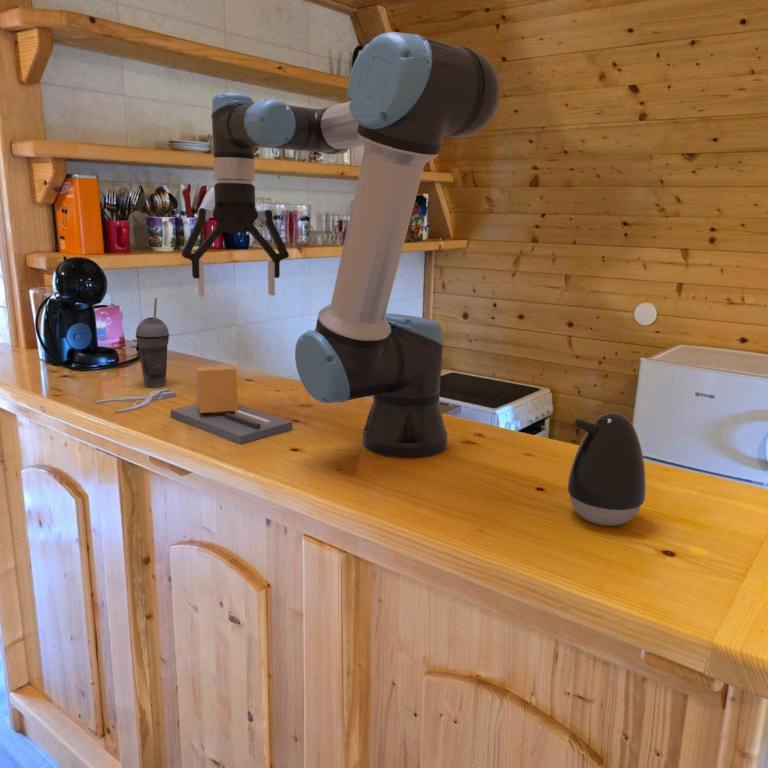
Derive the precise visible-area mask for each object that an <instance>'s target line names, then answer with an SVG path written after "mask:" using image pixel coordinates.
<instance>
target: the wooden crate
mask: <svg viewBox="0 0 768 768" xmlns="http://www.w3.org/2000/svg"><path fill="white" fill-rule="evenodd" d="M195 377H196V397H197V398H196V401H197V403H196V404H198V409H199V412H200V413H208V412H224V411H238V404H239V403H238V383H237V381H238V380H237V379H238V377H237V369H236V368H235V367H234V366H233V365H226V366H225V365H224V366H201V367H200V366H197V367H196V366H195Z"/></svg>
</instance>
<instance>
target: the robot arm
mask: <svg viewBox="0 0 768 768" xmlns="http://www.w3.org/2000/svg"><path fill="white" fill-rule="evenodd" d="M347 83H348V84H347V100H348V101H346V102H343V103H338V104H334V105H332V106H328V107H327V106H326V107H322V108H311V107H310V108H309V107H303V106H297V105H289V104H286V103H284V102H283V101H281V100H279V99H267V98H264V99H263V98H262V99H260V100H257V101H254V100H253V98H252V96H250V95H247V94H243V93H239V92H238V93H235V92H225V93H223V92H221V93H217V94H215V95H214V96H213V98H212V101H211V102H212V108H211V110H212V111H211V116H210V118H211V128H212V131H211V132H212V147H213V149H212V151H213V179H214V180H215V181H217V183H215V184H214V185H213V189H214V193H213V194H214V207H213V210H212V209H206V208H203V207H199V208H198V209H197V215H196V216H197V217H196V221H195V223H194V226H193V227H192V229H191V232H190V234H189V236H188V239H187V240H186V242H185V244H184V247H183V249H182V251H181V257H183V258H184V259H187V260H190V261H191V276H192V278H193V279H196V280H197V279H198V281H197V282H198V283H197V284H198V296H199V297H203V298H204V297H205V276H204V275H205V273H204V271H205V270H204V261H202V260H201V258H202V257H203V256H204V254H205V253H206V252H207V251H208V250H209V248H210V247H211V246H212V245H213V244H214V242H215V241H216V240H217V239H218V237H220V235H222V233H223V232H225V233H226V234H235V233H238V234H246V233H249V234H250V235H251V236H252V237H253V239H254V240H255V241H256V243H257V244H258V245H259V246H260V247H261V249H263V250H264V252H265V253H266V254H267V256H268V257H269V258H270V259H271V260H268V261H267V293H268V295H269V296H275V295H276V292H275V291H276V285H275V283H276V281H275V279H279V277H280V276H281V275H280V271H281V270H280V262H281V261H283V260H286V259H288V258H289V257H290V254H289V252H288V250H287V247H286V245H285V243H284V242H283V239H282V237H281V235H280V233H279V231H278V229H277V228H276V225H275V223H274V219H273V212H272V210H270V209H264V210H258V211H257V209H256V186H255V185H254V184H253V183H252V182H255V176H256V174H255V172H256V171H255V149H257V148H259V149H260V148H261V149H262V148H267V149H268V148H269V149H279V150H286V151H287V150H288V151H292V150H293V151H303V152H313V153H322V154H325V155H335V154H337V155H341V154H345V153H346V152H348V150H349V149H351V148H354V147H362V146H363V147H364V151H363V155H362V160H361V164H360V169H359V174H358V178H357V183H356V187H355V193H354V196H353V202H352V206H351V210H350V215H349V219H348V224H347V228H346V234H345V237H344V242H343V246H342V251H341V255H340V262H339V264H338V265H339V266H338V269H337V273H336V279H335V282H334V283H335V284H334V288H333V292H332V296H331V297H332V298H331V301H330V304H328V305H327V306H324V307H323V308H321V309H320V310H319V312H318V316H317V320H316V325H315V328H314V330H311V329H308V330H307V331H306V332H303V333H302V334H300V336H299V337H298V339H297V341H296V344H295V350H294V351H295V352H294V359H295V360H294V361H295V367H296V371H297V374H298V376H299V379H300V381H301V384H302V386H303V387H304V389H305V390H306V392H307V394H308V395H310V396H311V397H312V398H313V399H314V400H316V401H317V402H320V403H323V404H332V403H345V402H347V401H350V400H356V399H361V398H366V397H371V396H373V401H372V404H371V407H370V410H369V413H368V416H367V419H366V422H365V425H364V427H363V429H362V430H363V431H362V445H363V447H364V448H365V449H367V450H368V451H370V452H373V453H375V454H378V455H383V456H386V457H392V458H403V459H408V458H409V459H410V458H411V459H415V458H416V459H417V458H425V457H431V456H432V457H433V456H435V455H438V454H441V453H443V452H444V451H445V450H446V449H447V447H448V431H447V430H446V429H447V428H446V425H445V420H444V417H443V414H442V410H441V407H440V396H441V395H440V393H441V378H442V377H441V376H442V363H443V362H442V361H443V348H444V343H443V327H442V325H441V324H440V323H439V322H438V321H437V320H434V319H431V318H427V317H426V318H425V317H419V316H412V315H405V314H399V313H398V314H397V313H387V310H388V306H389V302H390V298H391V294H392V291H393V287H394V283H395V280H396V275H397V272H398V269H399V264H400V260H401V257H402V253H403V249H404V246H405V241H406V237H407V234H408V229H409V226H410V222H411V218H412V214H413V211H414V207H415V203H416V199H417V195H418V191H419V187H420V184H421V180H422V178H423V177H422V176H423V173H424V168H425V165H426V164H427V163H429V162H430V161H432V160H433V159H435V158H437V157H438V156H439V155H440V150H441V147H442V144H443V142H444V141H443V140H444V139H451V138H465V137H471V136H472V135H473V136H474V135H475V134H477V133H479V132H480V131H482V130H484V129H485V128H486V127H487V126H488V125H489V124H490V123H491V121H492V120H493V118H494V117H495V115H496V113H497V111H498V109H499V104H500V99H501V86H500V85H501V84H500V80H499V76H498V74H497V71H496V70H495V67H494V66H493V64H492V63H491V62H490V61H489V60H488V58H487V57H485V56H484V55H482V54H481V53H479V52H478V51H476V50H475V49H471V48H467V47H464V46H458V45H454V44H450V43H448V42H443V41H439V40H437V39H431V38H428V37H424V36H421V35H419V34H417V33H416V34H412V33H405V32H399V31H398V32H397V31H389V32H388V31H387V32H384V33H381V34H379V35H377V36H375V37H374V38H372V39H371V41H370V42H369V43H367V44H366V45H365V46H364V47H363V48H362V50H361V51H360V52H359V53H358V56H356V59H355V61H354V63H353V66H352V68H351V71H350V74H349V78H348V82H347ZM211 217H213V218H214V220H215V222H216V223H217V224H216V225H215V226H214V227H213V229H212V230H211V231H210V233H209V234H208V235H207V237H206V238H205V239H204V240H203V241H202V243H201V244H200V245H199V246H198V247H197V249H196V250H194V252H192V251H193V249H194V247H195V244H196V243H197V241H198V238H199V236H200V234H201V231H202V230H203V228H204V226H205V222H207V221H209V220H210V218H211ZM258 218H259V219H260V221H261V222H263V223H264V224H265V227H266V229H267V231H268V233H269V235H270V237H271V239H272V242H273V243H274V245H275V247H276V249H277V251H278V253H277V252H276V251H275V250H274V248H273V247H272V246H271V245H270V243H269V242H268V241H267V240H266V238H264V236H263V235H262V234H261V232H259V230H258V229H257V228H256V226H255V225H254V223H255V222H256V221H257V220H258Z"/></svg>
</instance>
